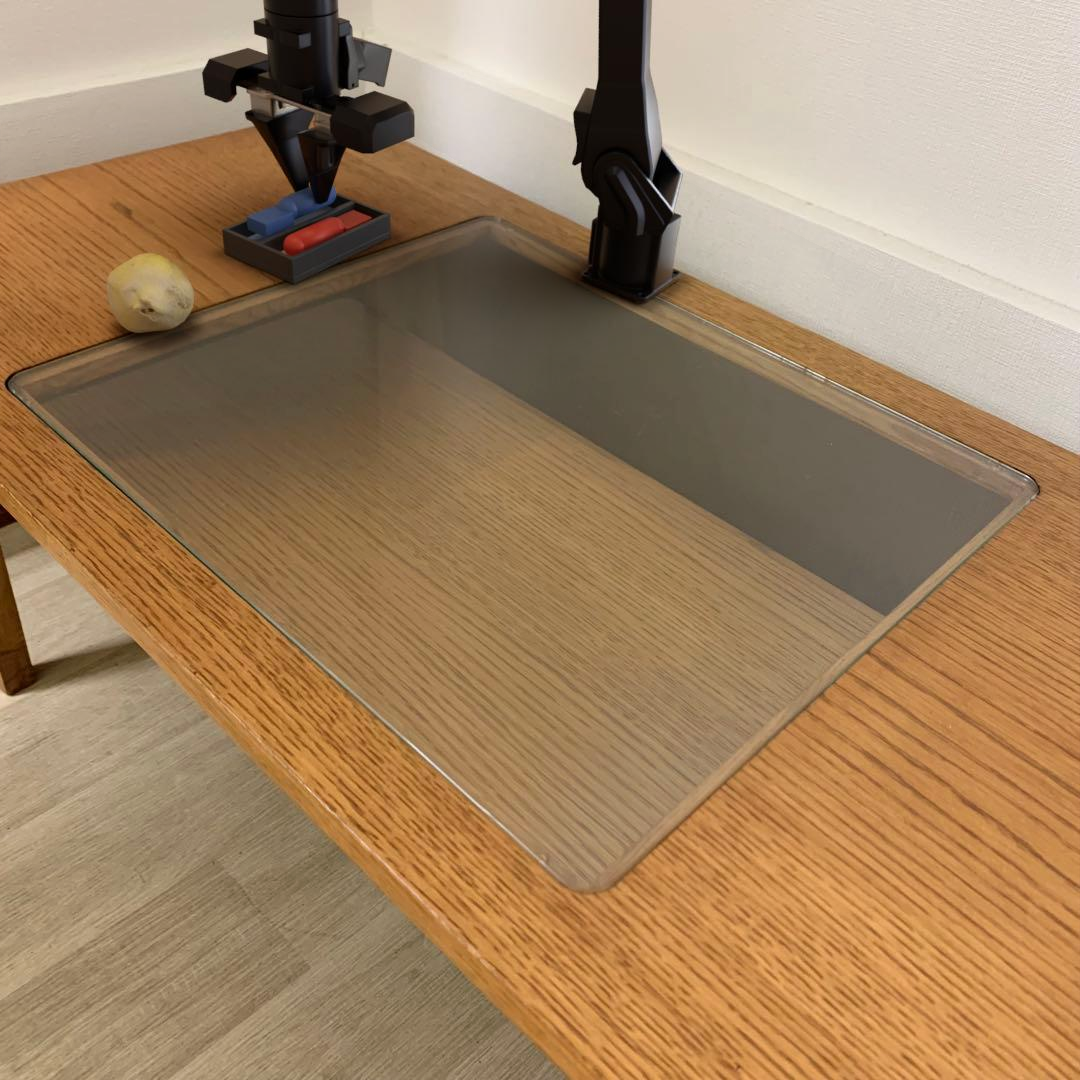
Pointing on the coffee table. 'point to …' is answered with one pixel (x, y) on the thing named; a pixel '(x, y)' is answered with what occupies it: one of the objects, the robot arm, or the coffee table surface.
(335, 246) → the tray
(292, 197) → the blue block-ended handle
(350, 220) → the red capsule-ended rod
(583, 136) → the robot arm
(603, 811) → the coffee table surface
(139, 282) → the fruit
